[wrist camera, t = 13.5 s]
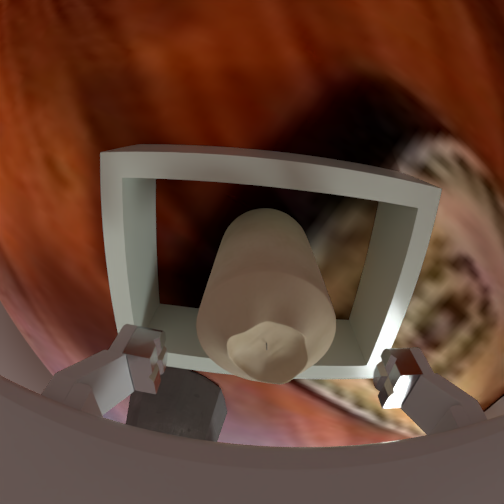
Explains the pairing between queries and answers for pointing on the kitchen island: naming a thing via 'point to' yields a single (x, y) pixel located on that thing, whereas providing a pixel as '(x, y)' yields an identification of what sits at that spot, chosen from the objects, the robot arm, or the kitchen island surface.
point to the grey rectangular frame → (272, 175)
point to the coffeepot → (180, 406)
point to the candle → (265, 301)
